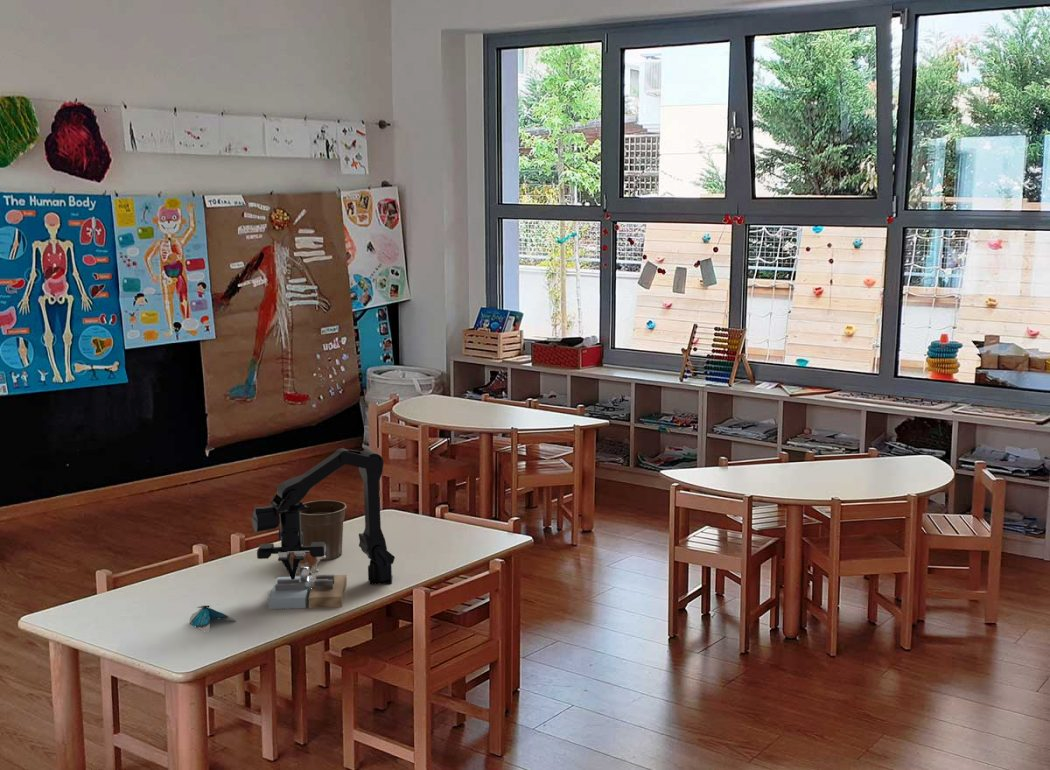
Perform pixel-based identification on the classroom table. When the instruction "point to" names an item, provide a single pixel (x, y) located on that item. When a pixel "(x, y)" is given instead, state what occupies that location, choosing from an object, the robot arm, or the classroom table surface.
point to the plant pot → (324, 525)
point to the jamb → (328, 591)
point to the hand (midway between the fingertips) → (293, 579)
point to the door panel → (289, 593)
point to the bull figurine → (309, 561)
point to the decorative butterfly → (206, 617)
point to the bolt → (307, 577)
